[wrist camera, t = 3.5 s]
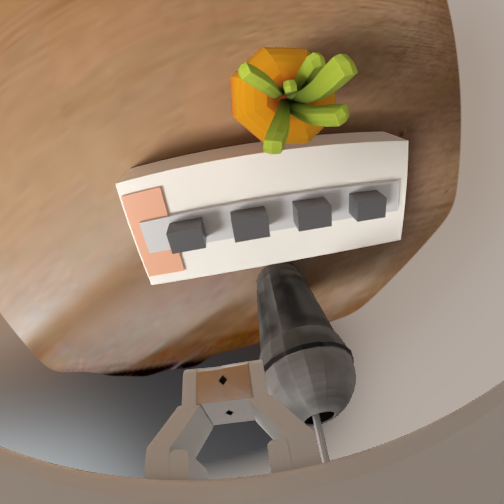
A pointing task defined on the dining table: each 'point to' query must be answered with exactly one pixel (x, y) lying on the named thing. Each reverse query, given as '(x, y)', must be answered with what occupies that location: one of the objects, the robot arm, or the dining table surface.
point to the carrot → (289, 95)
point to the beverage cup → (302, 350)
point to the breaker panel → (265, 204)
